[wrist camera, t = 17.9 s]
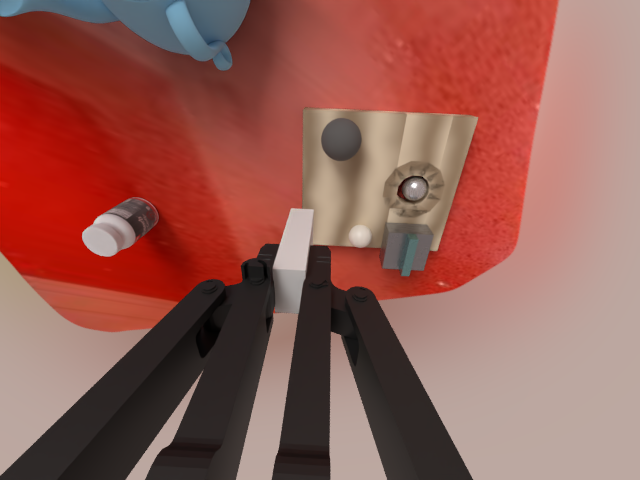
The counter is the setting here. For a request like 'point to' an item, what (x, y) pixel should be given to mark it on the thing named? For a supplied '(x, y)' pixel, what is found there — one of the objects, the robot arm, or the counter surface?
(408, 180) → the steel ball
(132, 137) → the counter surface
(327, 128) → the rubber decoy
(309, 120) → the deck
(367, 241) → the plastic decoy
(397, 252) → the cover
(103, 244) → the pill bottle
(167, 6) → the teapot
